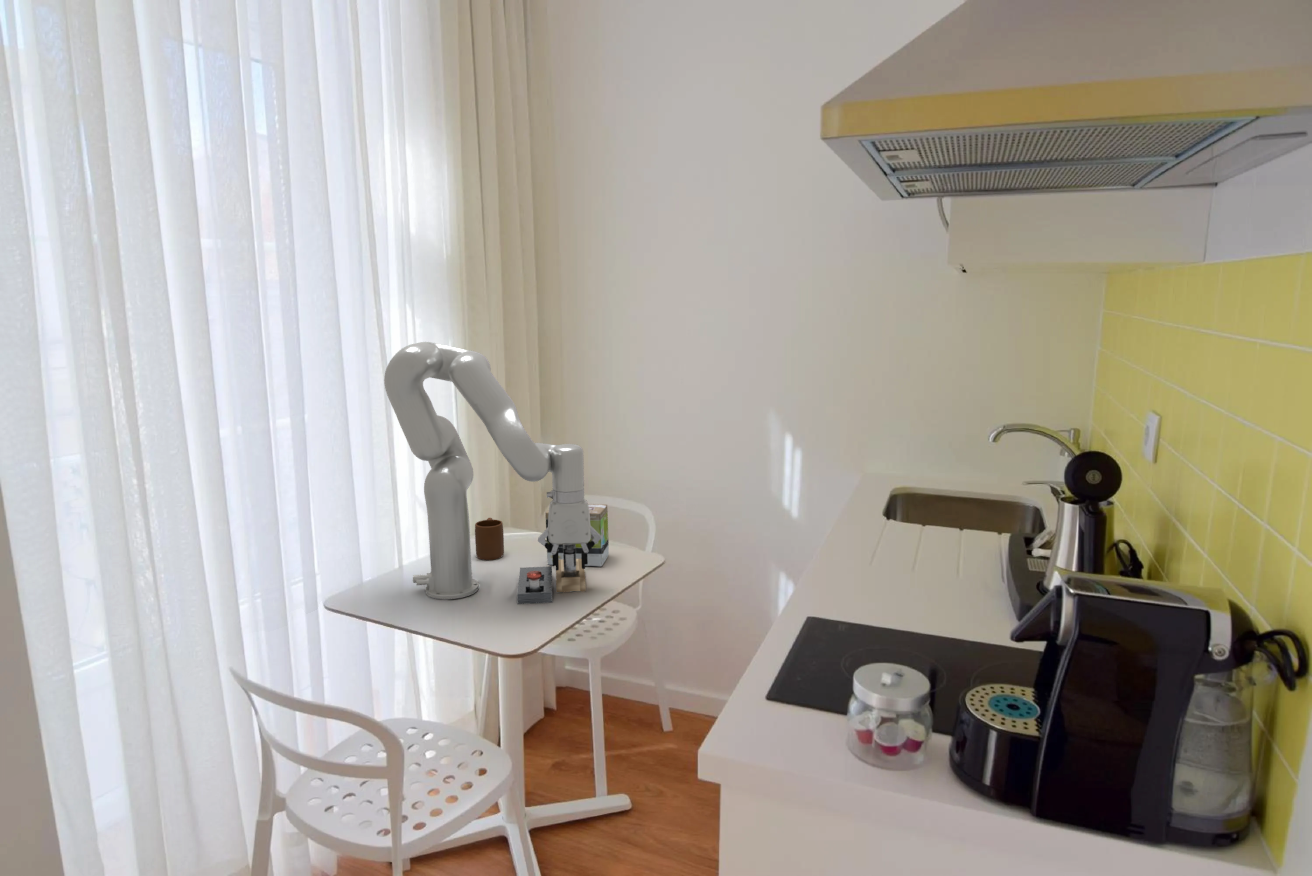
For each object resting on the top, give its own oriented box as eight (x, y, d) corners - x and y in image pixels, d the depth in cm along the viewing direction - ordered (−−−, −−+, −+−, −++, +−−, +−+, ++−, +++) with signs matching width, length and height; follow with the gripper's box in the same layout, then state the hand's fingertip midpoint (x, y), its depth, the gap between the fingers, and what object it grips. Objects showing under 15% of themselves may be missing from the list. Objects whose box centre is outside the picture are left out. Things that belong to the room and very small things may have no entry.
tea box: (609, 555, 216) (608, 503, 213) (601, 568, 206) (600, 513, 204) (556, 553, 218) (554, 501, 215) (546, 565, 208) (544, 511, 206)
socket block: (517, 604, 182) (517, 594, 182) (520, 577, 200) (520, 567, 199) (552, 602, 183) (551, 592, 183) (552, 575, 201) (552, 566, 200)
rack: (556, 592, 189) (555, 549, 187) (556, 572, 203) (555, 531, 201) (585, 591, 190) (584, 547, 188) (583, 571, 203) (582, 530, 202)
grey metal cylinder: (564, 590, 191) (563, 546, 189) (563, 585, 194) (562, 542, 192) (576, 589, 191) (575, 546, 189) (576, 585, 194) (575, 542, 192)
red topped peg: (527, 597, 183) (526, 576, 182) (527, 592, 186) (527, 571, 185) (542, 597, 183) (541, 575, 182) (542, 591, 187) (541, 570, 186)
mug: (477, 547, 223) (476, 515, 221) (504, 546, 224) (503, 514, 223) (475, 561, 211) (473, 527, 210) (504, 559, 213) (502, 526, 211)
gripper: (531, 501, 183) (534, 575, 187) (605, 498, 186) (606, 571, 189) (532, 493, 191) (534, 564, 194) (603, 490, 193) (604, 561, 196)
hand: (570, 567), depth 191 cm, fingers open, 5 cm apart
